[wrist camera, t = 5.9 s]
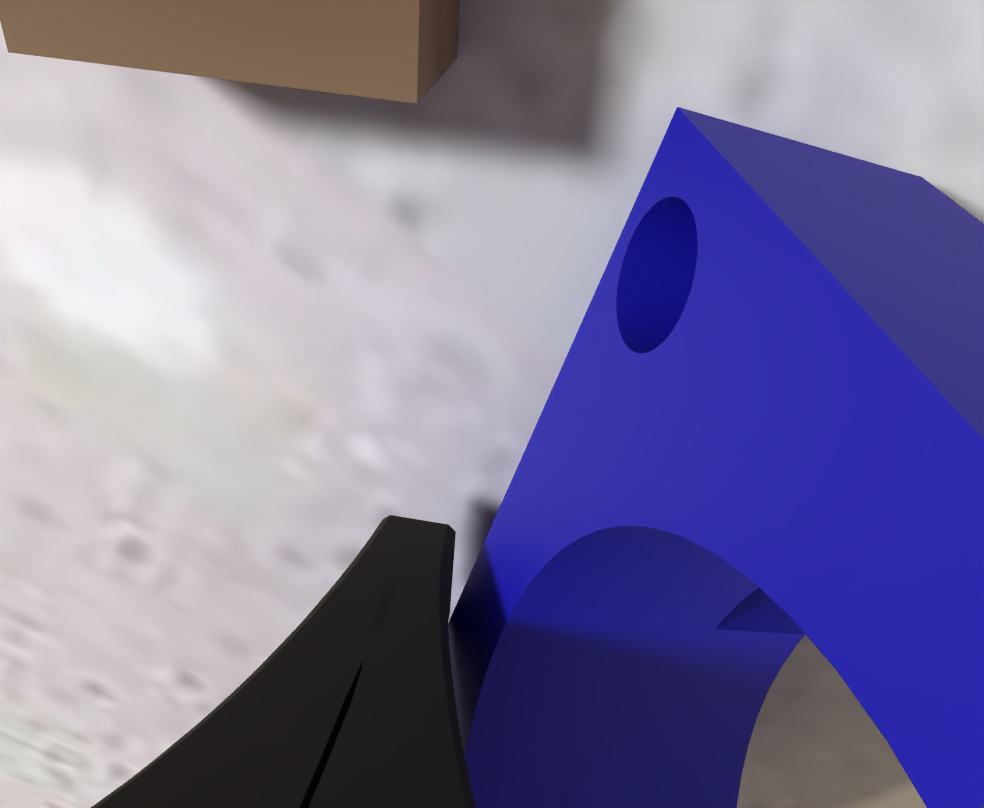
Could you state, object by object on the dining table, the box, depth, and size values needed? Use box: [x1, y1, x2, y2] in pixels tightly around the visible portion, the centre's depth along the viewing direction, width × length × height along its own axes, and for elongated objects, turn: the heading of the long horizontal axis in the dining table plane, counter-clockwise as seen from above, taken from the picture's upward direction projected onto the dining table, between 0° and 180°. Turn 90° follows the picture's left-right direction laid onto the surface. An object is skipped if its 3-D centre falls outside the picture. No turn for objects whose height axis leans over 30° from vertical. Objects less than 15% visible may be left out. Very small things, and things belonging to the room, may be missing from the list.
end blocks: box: [0, 0, 459, 104], centre depth 12 cm, size 19×4×2 cm, turn 175°
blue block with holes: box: [448, 107, 984, 808], centre depth 9 cm, size 12×4×6 cm, turn 162°
